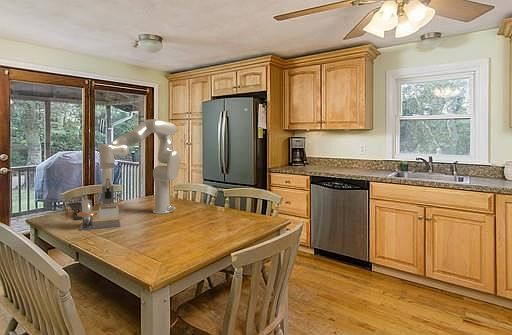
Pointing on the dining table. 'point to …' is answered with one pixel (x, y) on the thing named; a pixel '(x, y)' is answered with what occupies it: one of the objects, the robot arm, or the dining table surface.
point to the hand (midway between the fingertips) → (108, 197)
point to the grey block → (107, 201)
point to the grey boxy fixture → (103, 213)
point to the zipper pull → (76, 207)
